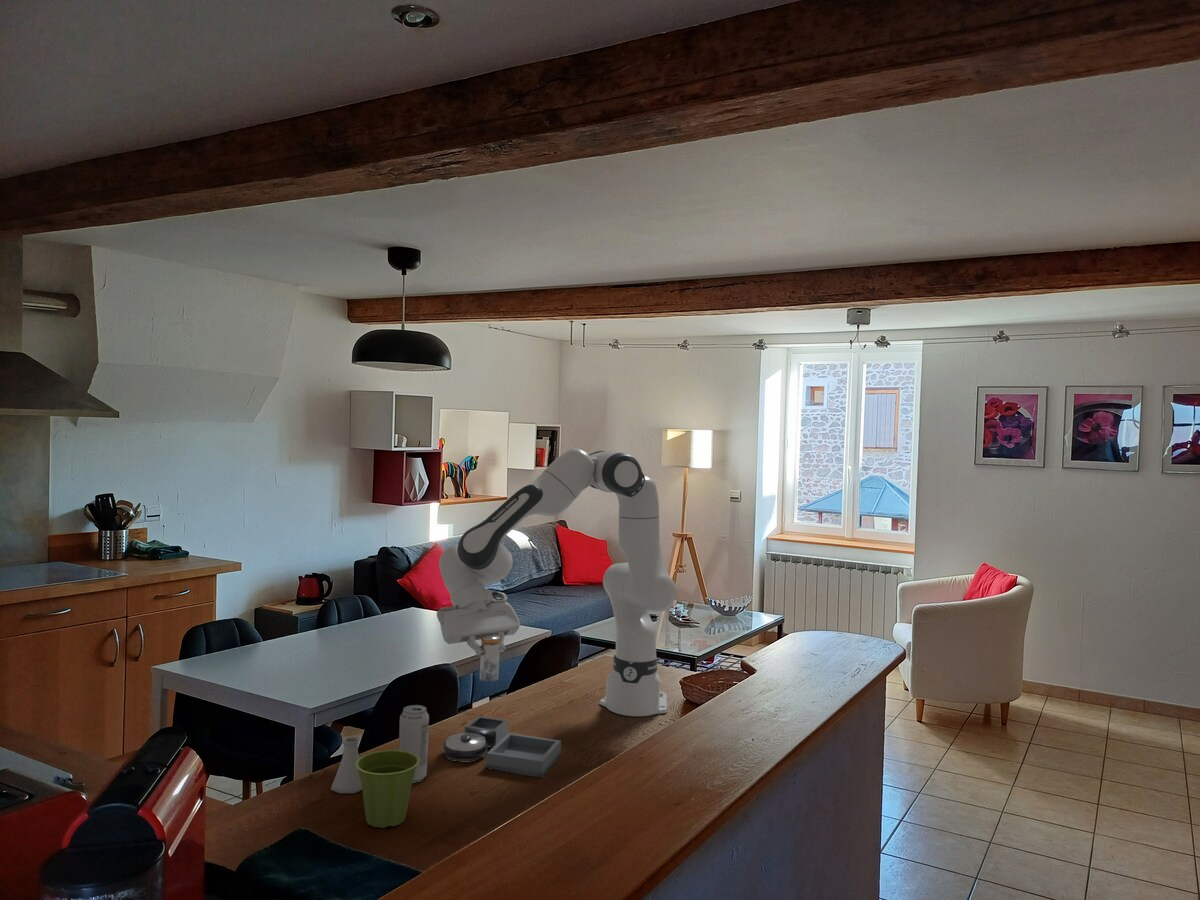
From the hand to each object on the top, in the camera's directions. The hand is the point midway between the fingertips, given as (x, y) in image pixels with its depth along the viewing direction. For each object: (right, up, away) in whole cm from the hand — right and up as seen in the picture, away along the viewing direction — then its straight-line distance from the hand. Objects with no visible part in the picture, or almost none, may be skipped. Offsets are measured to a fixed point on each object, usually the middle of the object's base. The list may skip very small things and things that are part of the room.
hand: (491, 652), depth 197 cm
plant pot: (-15, -22, -41) cm, 49 cm away
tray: (+9, -22, -11) cm, 26 cm away
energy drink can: (-14, -21, -23) cm, 34 cm away
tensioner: (-4, -21, -4) cm, 22 cm away
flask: (-26, -21, -28) cm, 43 cm away
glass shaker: (-1, -6, +1) cm, 6 cm away
